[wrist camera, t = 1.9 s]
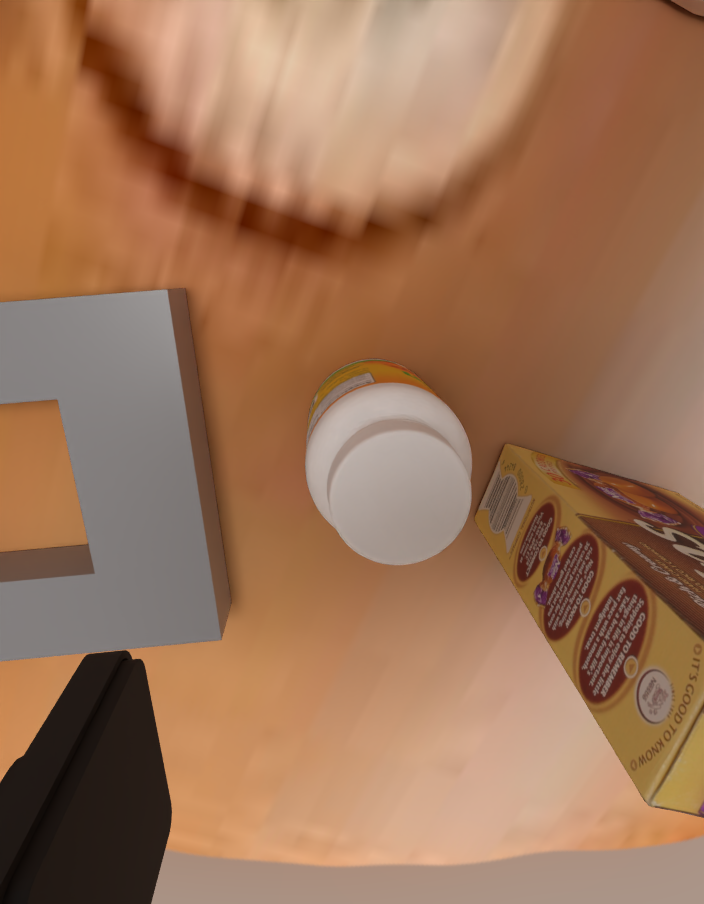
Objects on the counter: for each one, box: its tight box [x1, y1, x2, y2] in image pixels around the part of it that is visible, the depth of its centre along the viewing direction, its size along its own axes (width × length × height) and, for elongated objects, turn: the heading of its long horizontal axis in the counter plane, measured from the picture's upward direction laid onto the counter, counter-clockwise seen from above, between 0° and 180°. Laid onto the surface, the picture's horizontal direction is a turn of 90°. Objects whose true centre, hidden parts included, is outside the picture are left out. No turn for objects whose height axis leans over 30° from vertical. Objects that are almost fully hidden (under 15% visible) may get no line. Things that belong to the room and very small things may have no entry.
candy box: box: [474, 444, 704, 818], centre depth 20 cm, size 9×4×15 cm, turn 73°
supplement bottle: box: [305, 359, 472, 565], centre depth 21 cm, size 5×5×10 cm
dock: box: [0, 288, 231, 661], centre depth 24 cm, size 16×14×3 cm
